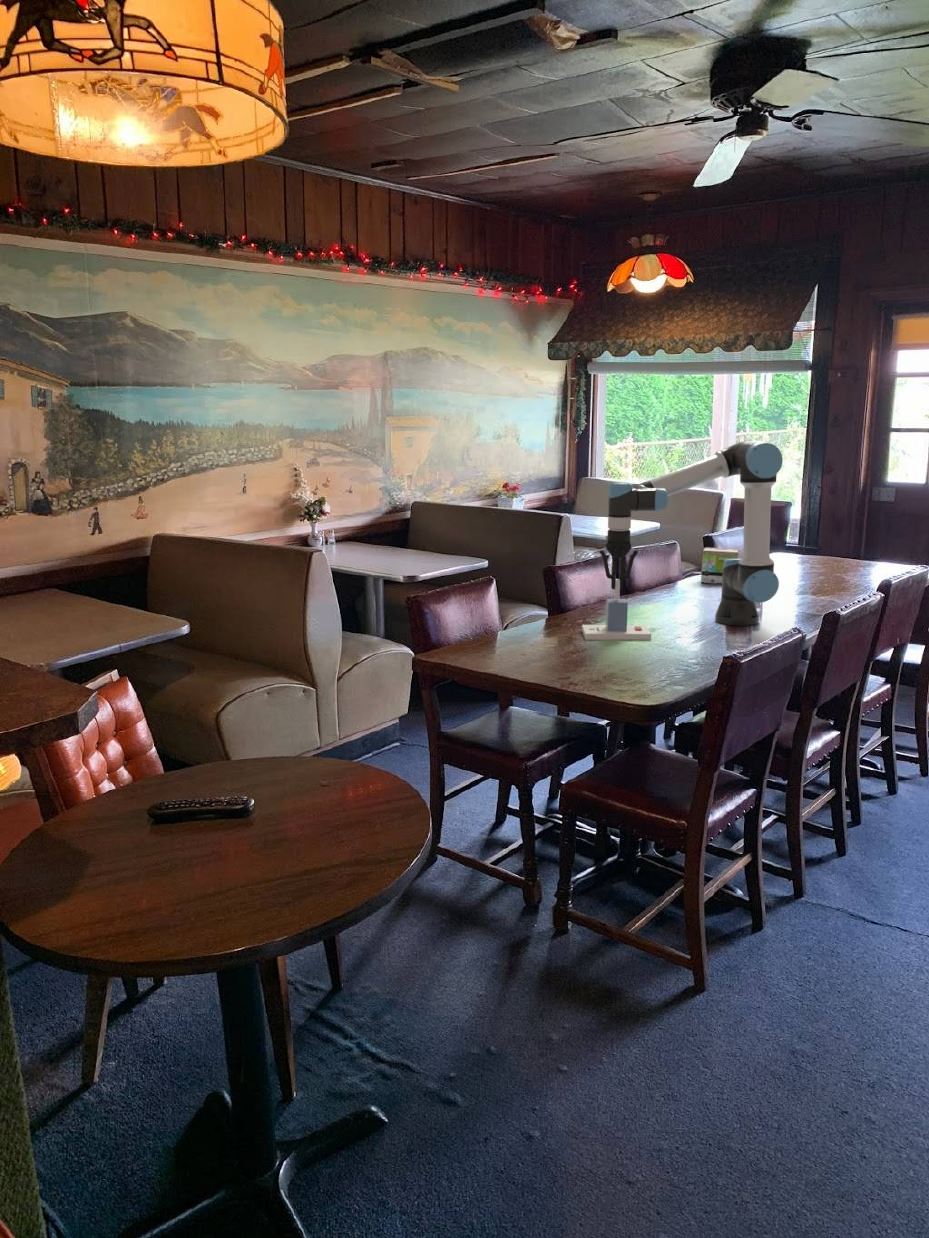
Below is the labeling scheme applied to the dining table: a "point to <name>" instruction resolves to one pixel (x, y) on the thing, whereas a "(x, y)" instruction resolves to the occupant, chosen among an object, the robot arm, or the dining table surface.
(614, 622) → the plug
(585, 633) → the socket plate
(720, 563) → the tea box
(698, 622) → the dining table surface
